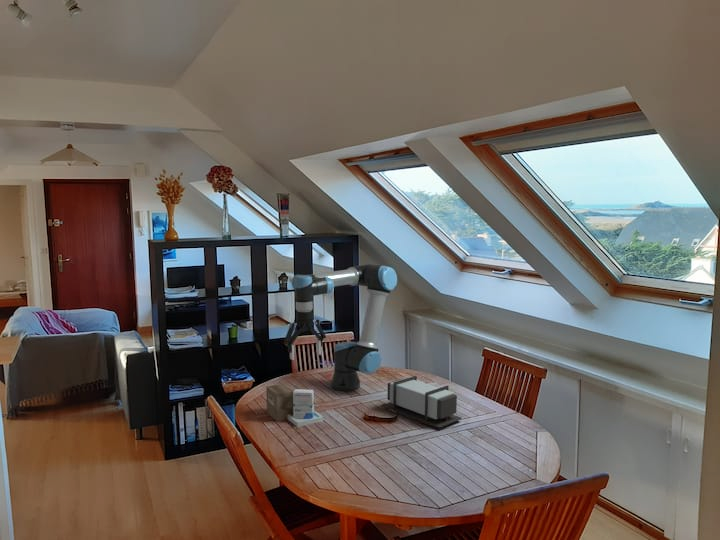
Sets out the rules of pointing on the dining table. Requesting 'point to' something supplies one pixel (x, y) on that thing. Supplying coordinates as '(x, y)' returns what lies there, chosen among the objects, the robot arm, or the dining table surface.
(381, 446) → the dining table surface
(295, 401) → the ink box
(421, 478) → the dining table surface
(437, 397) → the strapped grey crate
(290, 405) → the block
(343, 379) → the robot arm
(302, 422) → the tray
